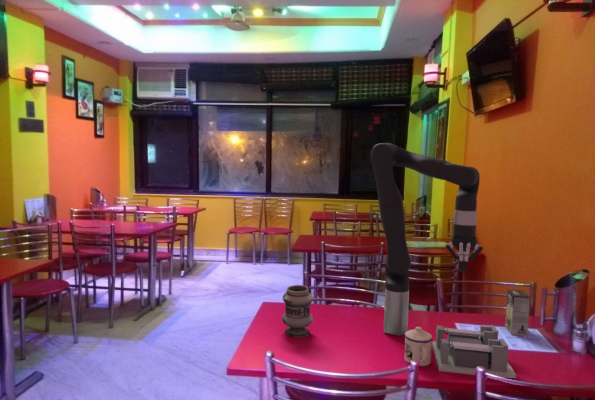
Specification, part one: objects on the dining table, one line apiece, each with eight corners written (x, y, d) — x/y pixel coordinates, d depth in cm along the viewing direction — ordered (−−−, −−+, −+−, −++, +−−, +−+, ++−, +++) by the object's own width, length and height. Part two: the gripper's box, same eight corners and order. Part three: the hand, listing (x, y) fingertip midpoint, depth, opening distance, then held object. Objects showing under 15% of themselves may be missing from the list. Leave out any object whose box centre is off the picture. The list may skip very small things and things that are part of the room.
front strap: (449, 350, 137) (449, 344, 137) (447, 346, 140) (448, 340, 140) (501, 356, 134) (501, 349, 134) (498, 352, 137) (498, 345, 137)
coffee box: (504, 326, 176) (506, 288, 174) (520, 327, 174) (523, 290, 173) (510, 335, 167) (513, 295, 165) (528, 336, 165) (531, 296, 164)
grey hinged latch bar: (444, 336, 149) (444, 330, 149) (443, 332, 152) (443, 327, 152) (491, 341, 146) (492, 335, 146) (489, 337, 149) (489, 331, 149)
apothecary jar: (276, 335, 162) (277, 289, 161) (289, 324, 173) (289, 282, 172) (306, 341, 157) (307, 294, 156) (316, 329, 169) (317, 285, 167)
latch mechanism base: (438, 370, 136) (440, 341, 135) (432, 345, 156) (433, 319, 155) (515, 379, 131) (517, 348, 131) (498, 351, 151) (500, 324, 150)
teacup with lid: (400, 354, 147) (401, 322, 146) (426, 354, 148) (427, 322, 147) (410, 371, 135) (412, 336, 135) (438, 371, 136) (440, 336, 135)
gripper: (446, 223, 146) (444, 272, 148) (487, 225, 143) (484, 275, 145) (443, 220, 153) (441, 267, 155) (482, 222, 151) (479, 269, 152)
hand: (462, 271), depth 150 cm, fingers closed
